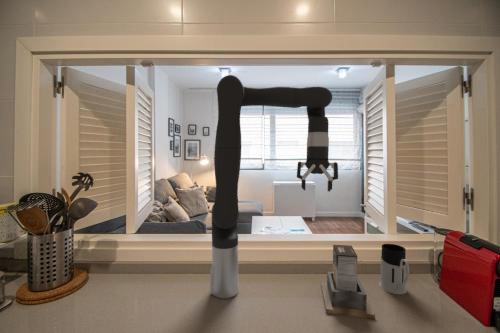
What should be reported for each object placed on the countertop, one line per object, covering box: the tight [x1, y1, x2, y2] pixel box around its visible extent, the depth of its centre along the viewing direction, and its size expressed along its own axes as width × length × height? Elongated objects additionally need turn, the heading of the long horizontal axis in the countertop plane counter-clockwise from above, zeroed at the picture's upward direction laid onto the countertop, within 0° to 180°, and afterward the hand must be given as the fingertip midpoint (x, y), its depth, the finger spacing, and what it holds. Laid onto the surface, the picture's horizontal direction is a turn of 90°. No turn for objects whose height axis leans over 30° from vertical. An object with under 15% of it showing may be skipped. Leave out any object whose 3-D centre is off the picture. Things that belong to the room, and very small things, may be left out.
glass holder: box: [378, 243, 410, 295], centre depth 84 cm, size 9×14×15 cm, turn 174°
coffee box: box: [332, 244, 358, 292], centre depth 80 cm, size 9×6×16 cm
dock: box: [320, 271, 376, 320], centre depth 80 cm, size 14×16×6 cm
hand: (316, 190), depth 86 cm, fingers open, 8 cm apart
